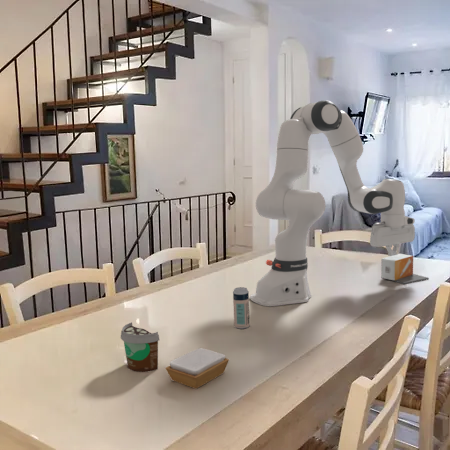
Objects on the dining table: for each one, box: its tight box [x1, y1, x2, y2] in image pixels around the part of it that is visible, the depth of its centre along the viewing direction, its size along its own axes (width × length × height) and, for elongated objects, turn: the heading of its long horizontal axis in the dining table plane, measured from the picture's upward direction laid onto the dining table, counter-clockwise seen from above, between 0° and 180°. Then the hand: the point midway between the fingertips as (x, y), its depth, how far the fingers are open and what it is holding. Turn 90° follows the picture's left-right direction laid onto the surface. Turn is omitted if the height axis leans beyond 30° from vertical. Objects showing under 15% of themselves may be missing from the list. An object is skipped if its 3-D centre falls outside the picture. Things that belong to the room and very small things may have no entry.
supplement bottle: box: [232, 286, 250, 330], centre depth 157 cm, size 5×5×12 cm
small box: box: [380, 253, 414, 281], centre depth 208 cm, size 8×6×13 cm
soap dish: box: [165, 347, 230, 390], centre depth 124 cm, size 12×10×5 cm
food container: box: [120, 322, 160, 373], centre depth 131 cm, size 12×6×10 cm, turn 45°
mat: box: [383, 273, 430, 285], centre depth 207 cm, size 13×12×1 cm
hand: (392, 255), depth 202 cm, fingers closed
